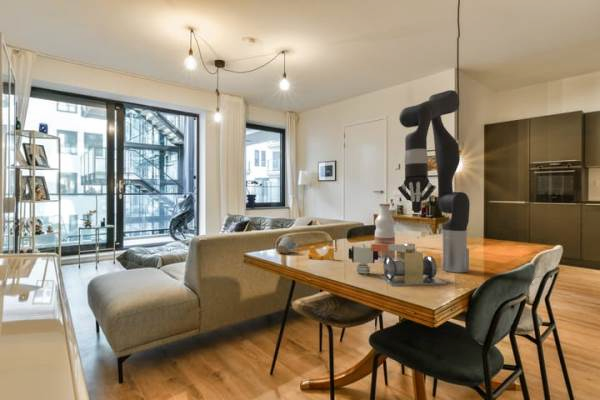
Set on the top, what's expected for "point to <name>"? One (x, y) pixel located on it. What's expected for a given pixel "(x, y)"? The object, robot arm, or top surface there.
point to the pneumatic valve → (362, 257)
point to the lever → (393, 247)
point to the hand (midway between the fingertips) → (416, 212)
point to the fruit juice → (384, 232)
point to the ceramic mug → (286, 245)
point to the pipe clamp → (315, 255)
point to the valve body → (410, 269)
